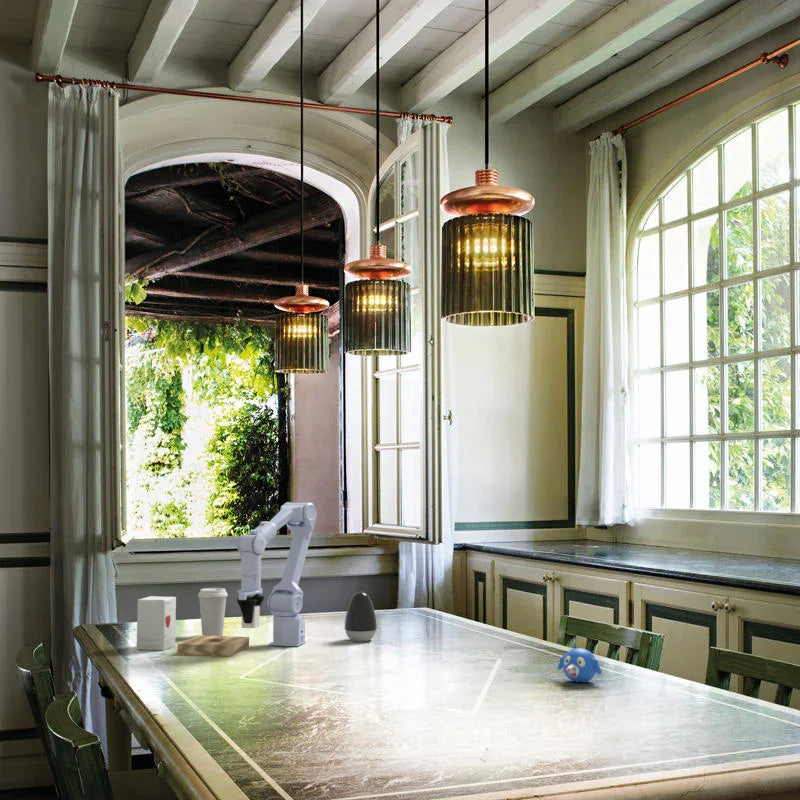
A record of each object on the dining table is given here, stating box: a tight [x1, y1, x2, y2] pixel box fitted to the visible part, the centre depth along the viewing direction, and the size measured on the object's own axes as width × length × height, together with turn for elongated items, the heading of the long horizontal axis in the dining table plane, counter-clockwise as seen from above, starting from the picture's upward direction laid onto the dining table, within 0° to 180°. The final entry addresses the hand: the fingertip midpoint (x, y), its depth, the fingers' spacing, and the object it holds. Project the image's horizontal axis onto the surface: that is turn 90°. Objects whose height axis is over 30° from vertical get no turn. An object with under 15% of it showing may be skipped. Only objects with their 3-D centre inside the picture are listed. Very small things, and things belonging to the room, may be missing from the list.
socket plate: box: [176, 634, 250, 657], centre depth 308 cm, size 16×16×3 cm
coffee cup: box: [197, 587, 229, 636], centre depth 335 cm, size 10×10×15 cm
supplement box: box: [136, 595, 177, 651], centre depth 314 cm, size 9×9×15 cm
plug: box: [241, 606, 261, 629], centre depth 305 cm, size 4×4×8 cm
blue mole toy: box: [557, 647, 603, 683], centre depth 260 cm, size 12×12×8 cm
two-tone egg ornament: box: [344, 591, 378, 642], centre depth 327 cm, size 10×10×15 cm
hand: (250, 622), depth 305 cm, fingers closed on plug, 4 cm apart
